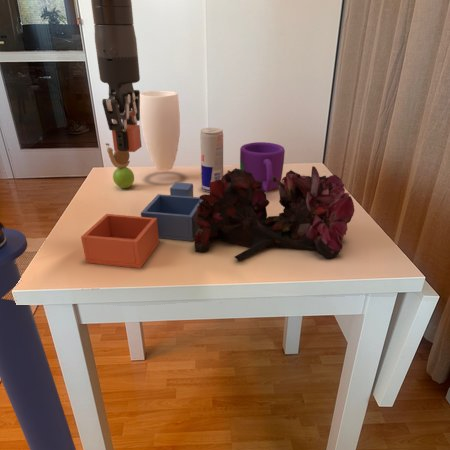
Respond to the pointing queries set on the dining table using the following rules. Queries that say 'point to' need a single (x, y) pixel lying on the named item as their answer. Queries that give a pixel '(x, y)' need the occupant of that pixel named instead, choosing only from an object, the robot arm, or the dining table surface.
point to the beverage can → (211, 156)
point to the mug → (263, 162)
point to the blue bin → (174, 216)
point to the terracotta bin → (121, 240)
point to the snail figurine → (121, 168)
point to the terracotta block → (130, 138)
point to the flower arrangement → (275, 225)
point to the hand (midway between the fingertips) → (127, 147)
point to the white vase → (160, 126)
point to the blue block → (182, 189)
